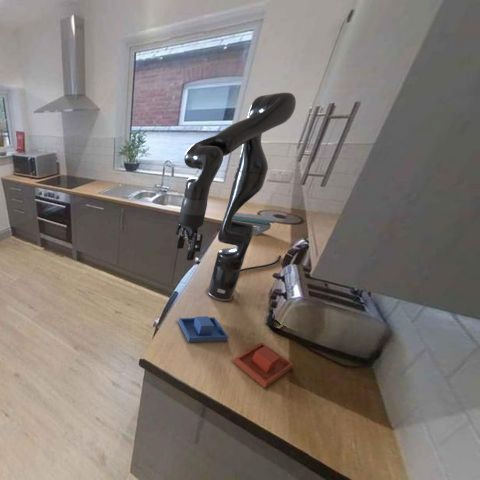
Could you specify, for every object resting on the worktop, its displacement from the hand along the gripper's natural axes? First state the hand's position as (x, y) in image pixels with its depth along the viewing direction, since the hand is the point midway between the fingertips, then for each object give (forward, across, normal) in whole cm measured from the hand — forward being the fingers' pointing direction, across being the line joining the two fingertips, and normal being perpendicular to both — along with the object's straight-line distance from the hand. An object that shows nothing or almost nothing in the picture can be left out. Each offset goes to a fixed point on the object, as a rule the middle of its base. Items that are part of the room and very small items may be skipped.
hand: (184, 253), depth 89 cm
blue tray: (+25, -12, -5) cm, 28 cm away
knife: (+25, -4, -41) cm, 48 cm away
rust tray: (+25, -26, -17) cm, 40 cm away
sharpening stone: (+26, +71, -75) cm, 106 cm away
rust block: (+24, -27, -17) cm, 40 cm away
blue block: (+24, -12, -5) cm, 28 cm away
